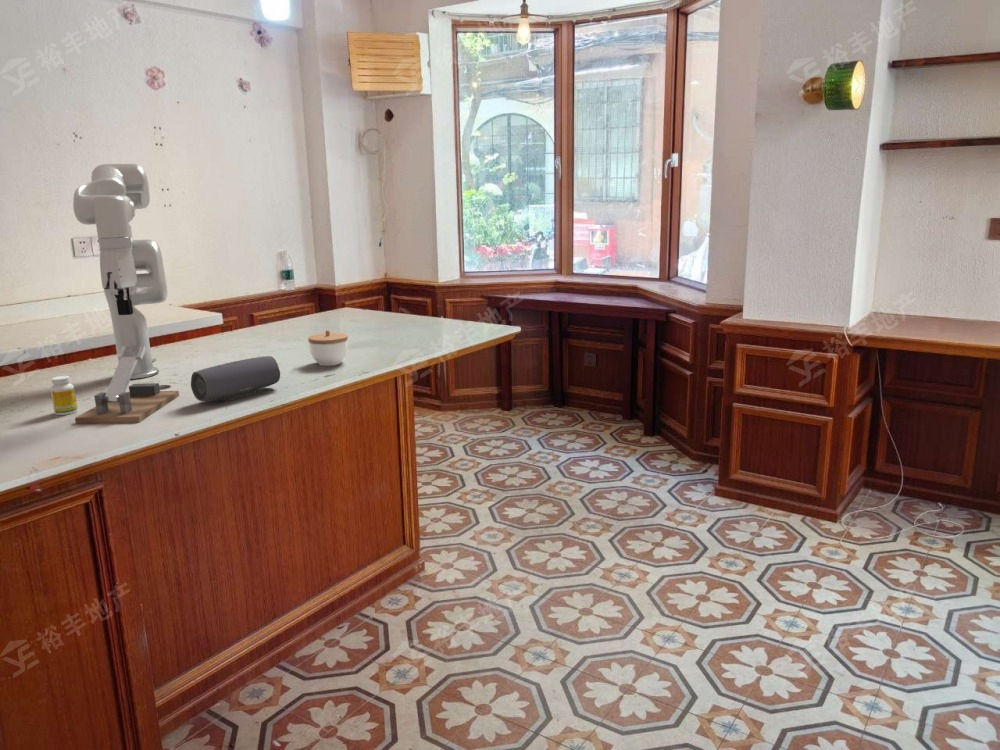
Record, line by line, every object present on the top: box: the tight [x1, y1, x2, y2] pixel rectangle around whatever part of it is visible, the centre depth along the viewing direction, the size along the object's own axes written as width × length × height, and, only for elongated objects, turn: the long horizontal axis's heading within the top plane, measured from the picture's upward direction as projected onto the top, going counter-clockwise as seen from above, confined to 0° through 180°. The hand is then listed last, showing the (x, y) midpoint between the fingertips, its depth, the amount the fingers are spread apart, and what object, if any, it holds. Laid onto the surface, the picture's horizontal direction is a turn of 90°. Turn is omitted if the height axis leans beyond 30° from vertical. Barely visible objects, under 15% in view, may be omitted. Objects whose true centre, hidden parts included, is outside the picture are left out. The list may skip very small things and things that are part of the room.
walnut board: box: [74, 390, 180, 425], centre depth 196 cm, size 24×16×6 cm, turn 0°
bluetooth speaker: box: [190, 355, 281, 402], centre depth 205 cm, size 23×9×10 cm, turn 141°
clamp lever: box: [103, 346, 146, 403], centre depth 193 cm, size 19×6×2 cm
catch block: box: [128, 382, 161, 396], centre depth 205 cm, size 3×7×3 cm, turn 91°
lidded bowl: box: [307, 329, 349, 367], centre depth 242 cm, size 13×13×11 cm
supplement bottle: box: [50, 375, 79, 416], centre depth 193 cm, size 5×5×10 cm
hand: (125, 314), depth 195 cm, fingers closed
